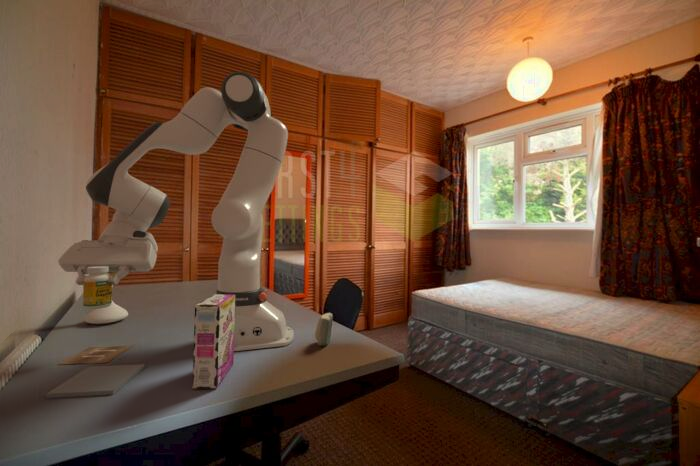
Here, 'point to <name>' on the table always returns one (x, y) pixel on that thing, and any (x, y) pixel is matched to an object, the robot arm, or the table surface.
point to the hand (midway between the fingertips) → (96, 283)
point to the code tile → (96, 355)
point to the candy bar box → (213, 340)
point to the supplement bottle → (97, 288)
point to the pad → (96, 381)
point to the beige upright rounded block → (324, 329)
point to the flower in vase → (106, 314)
